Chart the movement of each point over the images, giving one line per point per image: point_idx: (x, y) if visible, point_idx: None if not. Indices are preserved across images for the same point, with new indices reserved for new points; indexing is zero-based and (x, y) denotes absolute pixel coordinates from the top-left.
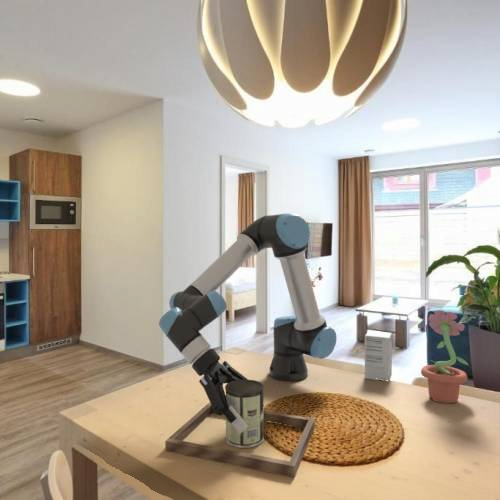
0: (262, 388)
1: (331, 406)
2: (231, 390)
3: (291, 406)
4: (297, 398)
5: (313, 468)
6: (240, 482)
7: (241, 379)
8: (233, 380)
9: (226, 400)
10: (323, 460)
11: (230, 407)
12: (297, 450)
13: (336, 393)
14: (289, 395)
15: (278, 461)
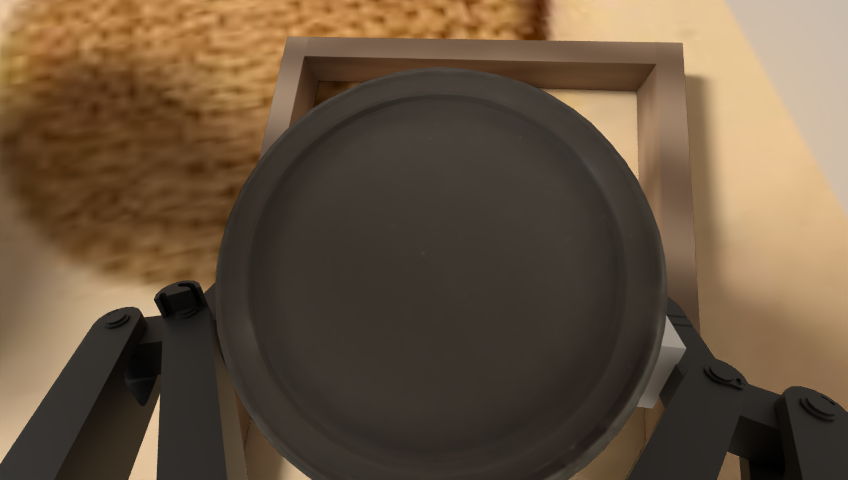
0: (451, 69)
1: (124, 32)
2: (608, 383)
3: (127, 171)
4: (47, 161)
5: (582, 29)
6: (770, 234)
7: (121, 386)
8: (232, 459)
9: (685, 402)
10: (523, 10)
11: (681, 343)
12: (565, 52)
13: (6, 29)
14: (14, 199)
15: (674, 99)
